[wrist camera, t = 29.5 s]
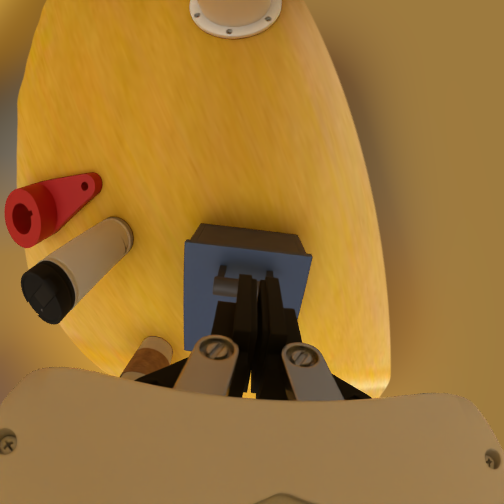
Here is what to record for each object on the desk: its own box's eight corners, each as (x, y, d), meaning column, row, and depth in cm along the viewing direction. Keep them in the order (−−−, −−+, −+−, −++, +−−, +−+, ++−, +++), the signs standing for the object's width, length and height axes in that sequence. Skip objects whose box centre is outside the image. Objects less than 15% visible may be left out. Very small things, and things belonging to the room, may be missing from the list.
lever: (39, 240, 40) (17, 254, 33) (23, 192, 36) (-1, 201, 30) (111, 209, 38) (88, 220, 32) (93, 151, 35) (67, 154, 28)
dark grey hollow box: (200, 223, 39) (186, 244, 31) (297, 234, 39) (309, 259, 31) (196, 311, 44) (185, 346, 36) (280, 320, 45) (285, 357, 36)
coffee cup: (161, 324, 45) (133, 388, 31) (188, 358, 48) (171, 423, 34) (127, 338, 47) (96, 396, 33) (154, 369, 49) (132, 428, 35)
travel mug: (143, 239, 40) (71, 312, 21) (116, 262, 41) (45, 337, 22) (118, 206, 38) (30, 259, 19) (92, 231, 39) (9, 291, 21)
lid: (186, 239, 30) (172, 260, 25) (311, 254, 30) (322, 278, 25) (185, 346, 36) (176, 375, 31) (285, 357, 36) (289, 387, 31)
